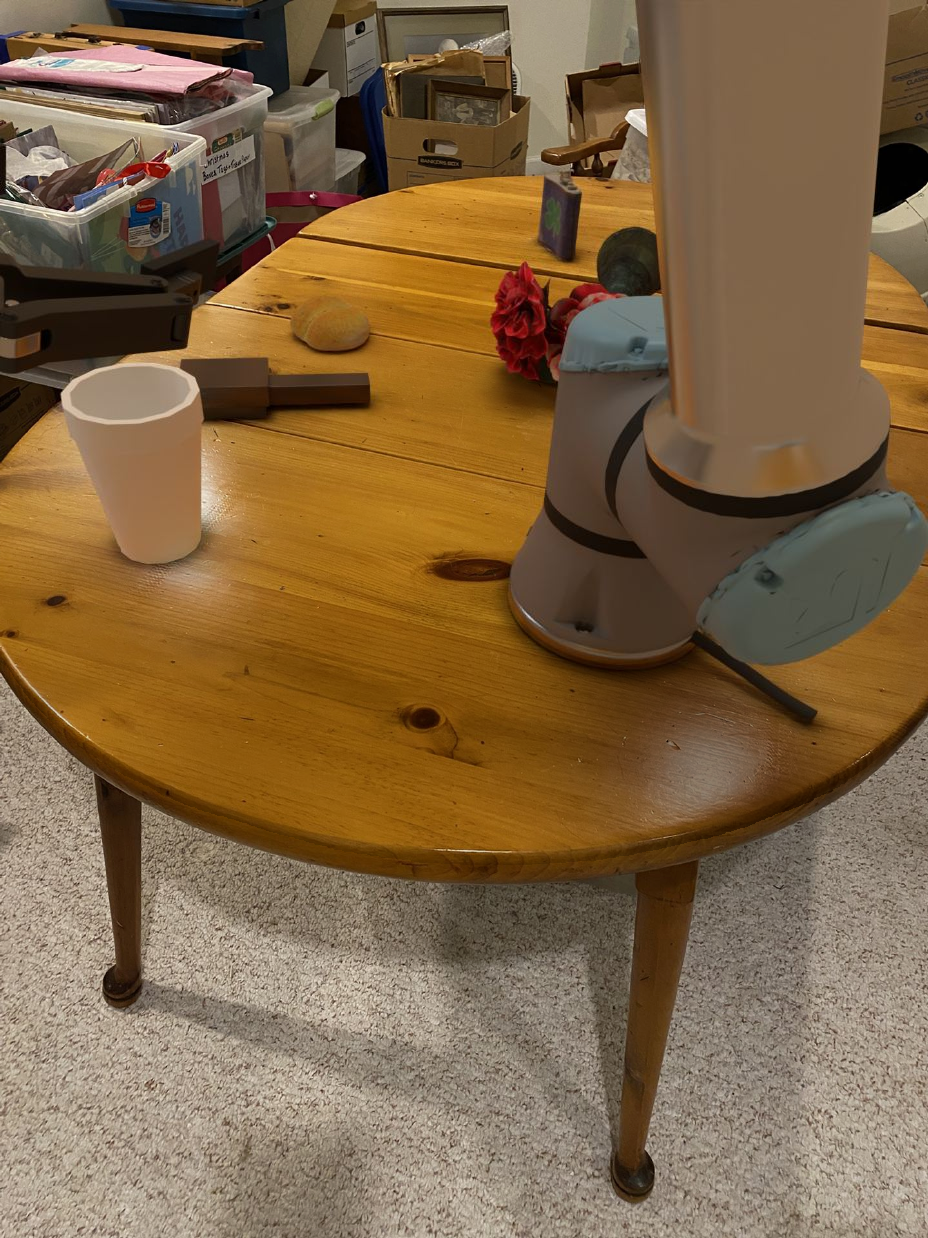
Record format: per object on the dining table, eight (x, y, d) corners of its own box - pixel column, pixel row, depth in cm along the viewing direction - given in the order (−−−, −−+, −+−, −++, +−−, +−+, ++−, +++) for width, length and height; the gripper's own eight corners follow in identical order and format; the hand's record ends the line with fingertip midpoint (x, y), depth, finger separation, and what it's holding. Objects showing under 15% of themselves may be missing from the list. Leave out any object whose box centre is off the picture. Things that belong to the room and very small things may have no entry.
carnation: (606, 356, 122) (562, 476, 95) (512, 247, 117) (438, 341, 90) (704, 276, 113) (686, 384, 86) (607, 154, 108) (556, 228, 81)
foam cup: (230, 563, 72) (208, 414, 64) (106, 586, 69) (66, 433, 61) (208, 499, 79) (186, 355, 70) (94, 517, 76) (57, 370, 67)
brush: (367, 387, 96) (366, 355, 93) (372, 416, 91) (371, 383, 89) (186, 392, 93) (181, 358, 91) (181, 422, 88) (176, 387, 86)
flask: (534, 239, 133) (542, 159, 126) (552, 238, 134) (562, 158, 127) (561, 262, 126) (571, 179, 119) (580, 261, 127) (592, 178, 120)
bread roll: (325, 360, 100) (323, 324, 97) (280, 331, 105) (278, 296, 102) (386, 342, 104) (386, 307, 102) (340, 315, 109) (339, 281, 107)
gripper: (-471, 279, 39) (-83, 193, 55) (51, 529, 37) (287, 364, 54) (-533, 85, 34) (-90, 55, 51) (58, 363, 33) (314, 238, 50)
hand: (105, 214), depth 53 cm, fingers open, 13 cm apart
